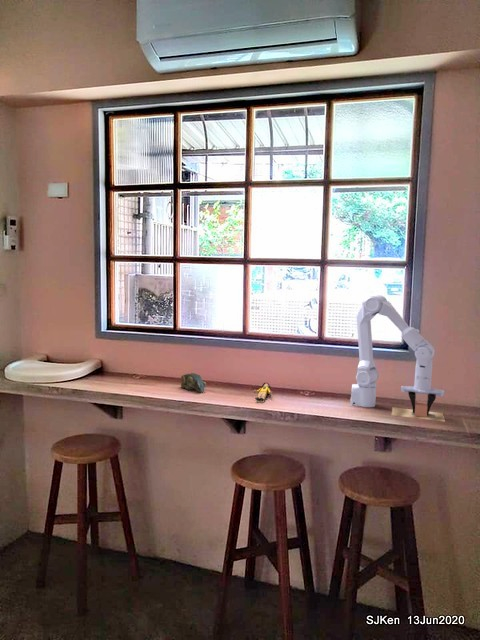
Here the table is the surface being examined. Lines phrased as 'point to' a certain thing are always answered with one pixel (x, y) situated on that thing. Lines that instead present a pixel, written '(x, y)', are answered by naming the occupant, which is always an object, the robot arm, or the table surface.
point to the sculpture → (193, 382)
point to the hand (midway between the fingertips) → (420, 413)
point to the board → (410, 414)
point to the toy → (263, 392)
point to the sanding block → (421, 409)
